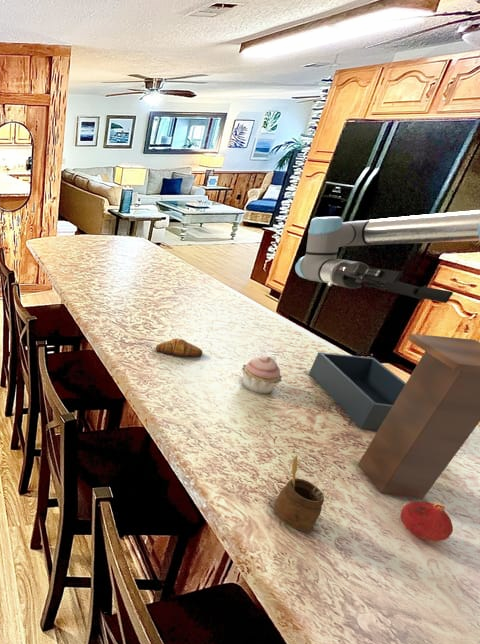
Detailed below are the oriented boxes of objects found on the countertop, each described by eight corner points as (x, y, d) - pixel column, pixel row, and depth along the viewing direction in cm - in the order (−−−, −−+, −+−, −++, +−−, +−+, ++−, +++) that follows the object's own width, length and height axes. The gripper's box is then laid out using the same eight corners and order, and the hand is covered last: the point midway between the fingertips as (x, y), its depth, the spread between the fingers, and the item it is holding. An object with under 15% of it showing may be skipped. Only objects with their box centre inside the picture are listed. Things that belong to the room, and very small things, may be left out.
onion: (403, 544, 65) (427, 513, 61) (385, 515, 70) (406, 484, 66) (447, 556, 63) (474, 524, 60) (425, 525, 68) (449, 494, 65)
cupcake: (230, 385, 104) (241, 354, 100) (244, 373, 110) (255, 343, 105) (269, 403, 98) (282, 370, 93) (281, 389, 103) (295, 357, 99)
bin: (308, 374, 110) (318, 352, 106) (361, 380, 108) (373, 357, 104) (359, 429, 90) (374, 404, 86) (426, 438, 88) (444, 412, 84)
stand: (341, 455, 83) (409, 333, 69) (394, 462, 81) (474, 339, 68) (372, 495, 74) (458, 363, 60) (433, 504, 72) (534, 371, 59)
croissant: (197, 350, 120) (201, 336, 118) (204, 362, 114) (208, 347, 112) (152, 345, 122) (156, 331, 120) (157, 357, 116) (160, 342, 114)
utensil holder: (304, 539, 65) (333, 490, 60) (264, 512, 70) (287, 464, 65) (317, 521, 69) (345, 473, 63) (278, 495, 73) (301, 449, 68)
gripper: (376, 300, 112) (459, 319, 91) (299, 271, 110) (367, 284, 89) (391, 276, 110) (479, 290, 89) (313, 246, 108) (386, 253, 88)
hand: (423, 287), depth 89 cm, fingers open, 13 cm apart
